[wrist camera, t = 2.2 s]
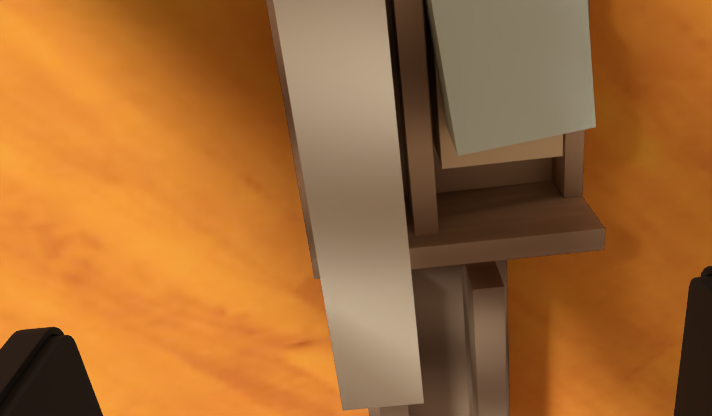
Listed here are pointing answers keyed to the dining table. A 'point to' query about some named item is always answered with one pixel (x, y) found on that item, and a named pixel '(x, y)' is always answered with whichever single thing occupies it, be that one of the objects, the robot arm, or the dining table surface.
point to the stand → (460, 341)
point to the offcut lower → (497, 155)
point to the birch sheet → (354, 193)
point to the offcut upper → (512, 69)
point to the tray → (465, 175)
